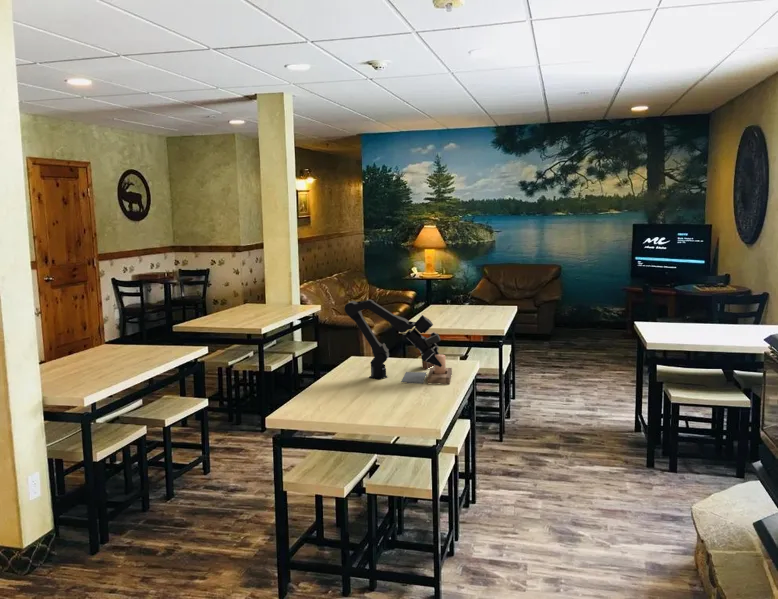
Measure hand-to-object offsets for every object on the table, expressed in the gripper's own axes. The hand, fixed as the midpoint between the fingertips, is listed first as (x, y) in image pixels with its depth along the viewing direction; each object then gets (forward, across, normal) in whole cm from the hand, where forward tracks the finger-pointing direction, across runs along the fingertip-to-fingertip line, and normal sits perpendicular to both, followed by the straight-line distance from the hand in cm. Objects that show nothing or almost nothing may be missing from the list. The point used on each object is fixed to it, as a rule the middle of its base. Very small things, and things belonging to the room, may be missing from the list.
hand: (442, 363), depth 305 cm
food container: (-1, +22, +12) cm, 25 cm away
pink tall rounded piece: (+4, 0, +6) cm, 7 cm away
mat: (-4, 0, +14) cm, 15 cm away
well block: (+4, 0, +6) cm, 7 cm away
